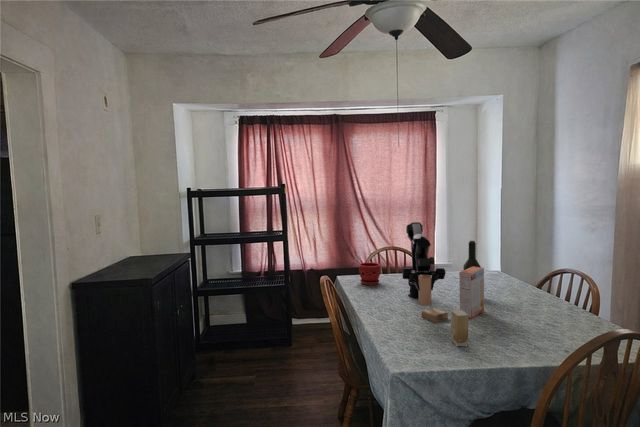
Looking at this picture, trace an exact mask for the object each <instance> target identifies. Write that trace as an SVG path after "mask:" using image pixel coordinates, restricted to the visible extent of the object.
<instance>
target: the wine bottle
mask: <svg viewBox="0 0 640 427" xmlns="http://www.w3.org/2000/svg"><path fill="white" fill-rule="evenodd" d="M476 246H477V242H475V240H469V242H468V258H467V260H466V261H465V262H464V264H463V270H466V269H468V268H470V267H480V268H482V266H481V265H480V263H479V261H478V260H477V259H476V257H477V256H476V255H477V251H476V249H477V248H476Z"/></svg>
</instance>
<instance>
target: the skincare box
mask: <svg viewBox="0 0 640 427" xmlns="http://www.w3.org/2000/svg"><path fill="white" fill-rule="evenodd" d="M469 319H470V318H469V315H468V314H466V313H465V312H464V311H462V310H460V309H453V310H452V309H451V311H450V341H451V342H452V343H453V344H454V345H455V346H456V345H457V346H465V347H467V346H466V345H468V346H469V323H470V322H469ZM457 346H456V347H457Z"/></svg>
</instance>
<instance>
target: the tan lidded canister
mask: <svg viewBox="0 0 640 427" xmlns="http://www.w3.org/2000/svg"><path fill="white" fill-rule="evenodd" d="M431 277H432V276H430V275H428V274H420V275H419V276H418V281H419V298H418V305H420V306H424V307H427V306H431V305H432V290H431Z"/></svg>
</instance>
